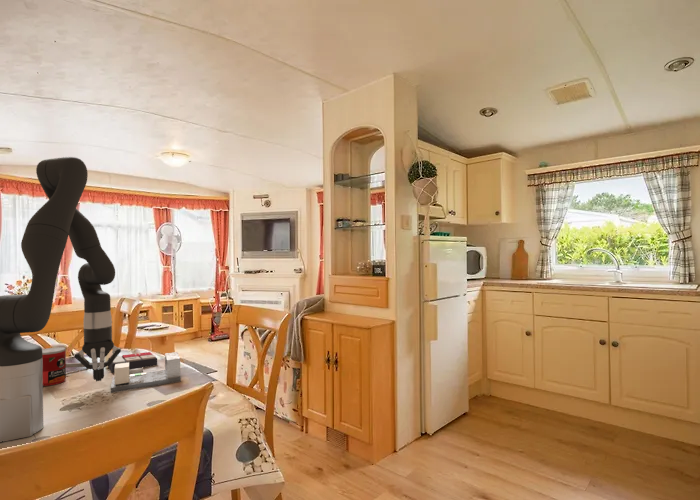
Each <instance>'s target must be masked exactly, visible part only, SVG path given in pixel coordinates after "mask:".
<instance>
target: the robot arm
mask: <svg viewBox="0 0 700 500" xmlns="http://www.w3.org/2000/svg"><path fill="white" fill-rule="evenodd" d="M35 170H36V172H35V173H36V177H37V181H38V182H39V184H40V186H41V187H42V189H43V191H44V193H45V195H46V196H47V198H48V200H47V201H46V202H45V203H44V204H43V205H42V206H41V207H40V208H39V209H38V210H37V211H36V212H35V213H34V214H33V215H32V216H31V218H30V219H29V220H28V222H27V224H26V226H25V228H24V229H25V230H24V232H23V235H22V239H21V243H20V248H21V252H22V255H23V256H24V259H25V260H26V263H27V264H28V267H29V269H30V271H31V284H30V288H29V291H28V293H27V294H6V295H0V443H2V441H3V442H7V441H12V440H17V439H23V438H29V437H31V436H33V434H35V433H38V432H39V431H41V430H42V429H43V428H44V426H45V425H44V386H43V361H42V349H43V348H42V347H41V346H40V345H39V344H36V343H33V342H29V341H28V340H26V339H24V338H23V337H22V335H21V334H26V333H27V334H29V333H37V332H40V331H42V330H43V329H44V328H45V327H46V326H47V324H48V322H49V320H50V317H51V314H52V307H53V301H54V295H55V289H56V282H57V278H58V273H59V269H60V266H61V262H62V257H63V255H64V252H65V249H66V246H67V242H68V239H70V242H71V245H72V248H73V251H74V254H75V255H76V256H77V257H78V258H79V259H83V260H85V261H86V262H87V263H84V264H83V265H81V266H80V267H79V269H78V274H77V280H78V281H77V282H78V285H79V287H80V288H79V289H80V290H81V294H82V298H83V301H84V302H83V303H84V305H83V307H84V309H83V310H84V313H83V345H82V347H81V349H80V350H79V351H78V352H76V353H75V354H74V356H73V357H74V358H75V359H76V360H77V361H78V363H81V364H82V365H84V366H85V367H84V368H86V369H87V370H89V369H90V370H92V375H93V376H92V378H93V381H95V382H101V381H102V380H103V379H104V377H105V368H106V367H108V366H109V365H110V364H111V363H112V362H113V361H114V359H115V358H116V357H117V356H119V354H120V353H121V352H122V348H121V347H117V346H116V345H115V343H114V341H113V328H112V327H113V325H112V324H113V319H112V311H111V306H112V305H111V295H110V293H109V292H106V291H104V290H103V288H102V286H106V285H110V284H111V283H112V282H113V281H114V279H115V277H116V269H115V266H114V264H113V262H112V261H111V259H110V257H109V256H108V254H107V253H106V252H105V250H104V249H103V248H102V245H101V242H100V239H99V237H98V233H97V231H96V229H95V226H94V225H93V224H92V222H90V220H89V219H88V218H87V217H86V215H84V214H83V213H82V212H81V211H80V210H79V209H78V208H77V207H78V204H79V202H80V200H81V197H82V196H83V193H84V191H85V189H86V188H85V187H86V185H87V182H88V168H87V166H86V163H85V162H84V161H83V160H82V159H81V158H78V157H76V156H63V157H62V156H61V157H55V158H47V159H43V160H41V161H40V162H38V163H37V165H36V169H35ZM68 237H69V238H68ZM110 352H111V353H112V354H111V356H110V357H108V358H109V359H108V358H107V360H105V358H106V357H107V356H108V355H109V354H110ZM84 353H85V354H84ZM85 355H86V356H87V357H89V359H91V362H90V361H89V360H88V359H87V358H85ZM98 359H99V360H98ZM98 361H99V362H100V364H99V366H98ZM91 363H92V364H91Z"/></svg>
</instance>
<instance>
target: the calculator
mask: <svg viewBox="0 0 700 500" xmlns="http://www.w3.org/2000/svg"><path fill="white" fill-rule="evenodd" d="M109 358H110V357H108V358H107V360H108V359H109ZM128 362H129V370H130V369H137V368H142V367H144V368H149V367H154V366H153V365H155V366H158V357H156V356H155V355H154V354H153V353H152V352H151V351H148V352H147V351H146V352H139V353H131V354H130V353H129V354H122V355H118V356H117V357H116V358H115V359H114V361H113V362H112V363H111V364H110V365H109V366H107V368H108V369H109V371H110V372H111V373H112V374H114V368H115V364H120V363H128ZM148 366H149V367H148Z"/></svg>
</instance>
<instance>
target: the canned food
mask: <svg viewBox="0 0 700 500" xmlns="http://www.w3.org/2000/svg"><path fill="white" fill-rule="evenodd" d="M66 352H67V351H66V347H63V346H62V347H61V346H59V347H58V346H57V347H47V348H42V361H43V387H48V386H53V385H59V384H61V383H64V382H65V381H66V378H67V370H66V369H67V368H66V363H67V360H66V359H67V357H66V356H67V353H66Z"/></svg>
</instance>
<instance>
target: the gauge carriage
mask: <svg viewBox="0 0 700 500" xmlns="http://www.w3.org/2000/svg"><path fill="white" fill-rule="evenodd" d="M138 373H144V368H137V369H130V370H129V362H128V363H120V364H115V368H114V373H113V374H114V377H115V385H116V384H122V383H129V375H132V374H138Z"/></svg>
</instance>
